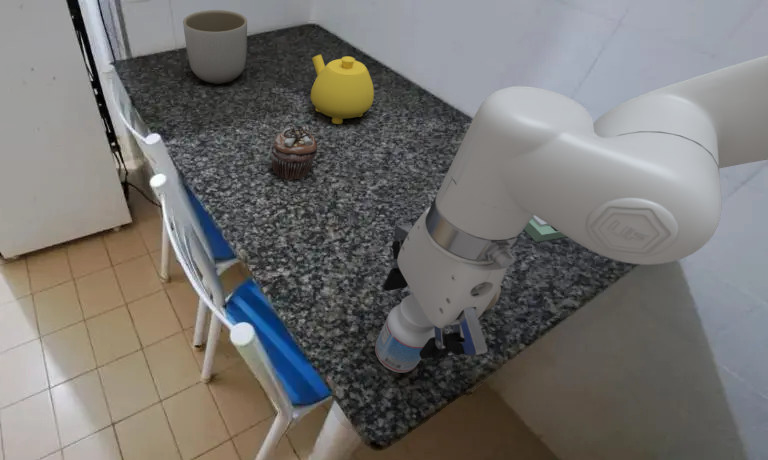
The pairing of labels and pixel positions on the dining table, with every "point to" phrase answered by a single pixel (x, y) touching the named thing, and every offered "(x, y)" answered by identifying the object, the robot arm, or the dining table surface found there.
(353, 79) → the teapot
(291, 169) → the cupcake
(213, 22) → the planter
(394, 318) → the pill bottle
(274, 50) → the dining table surface
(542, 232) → the scale
